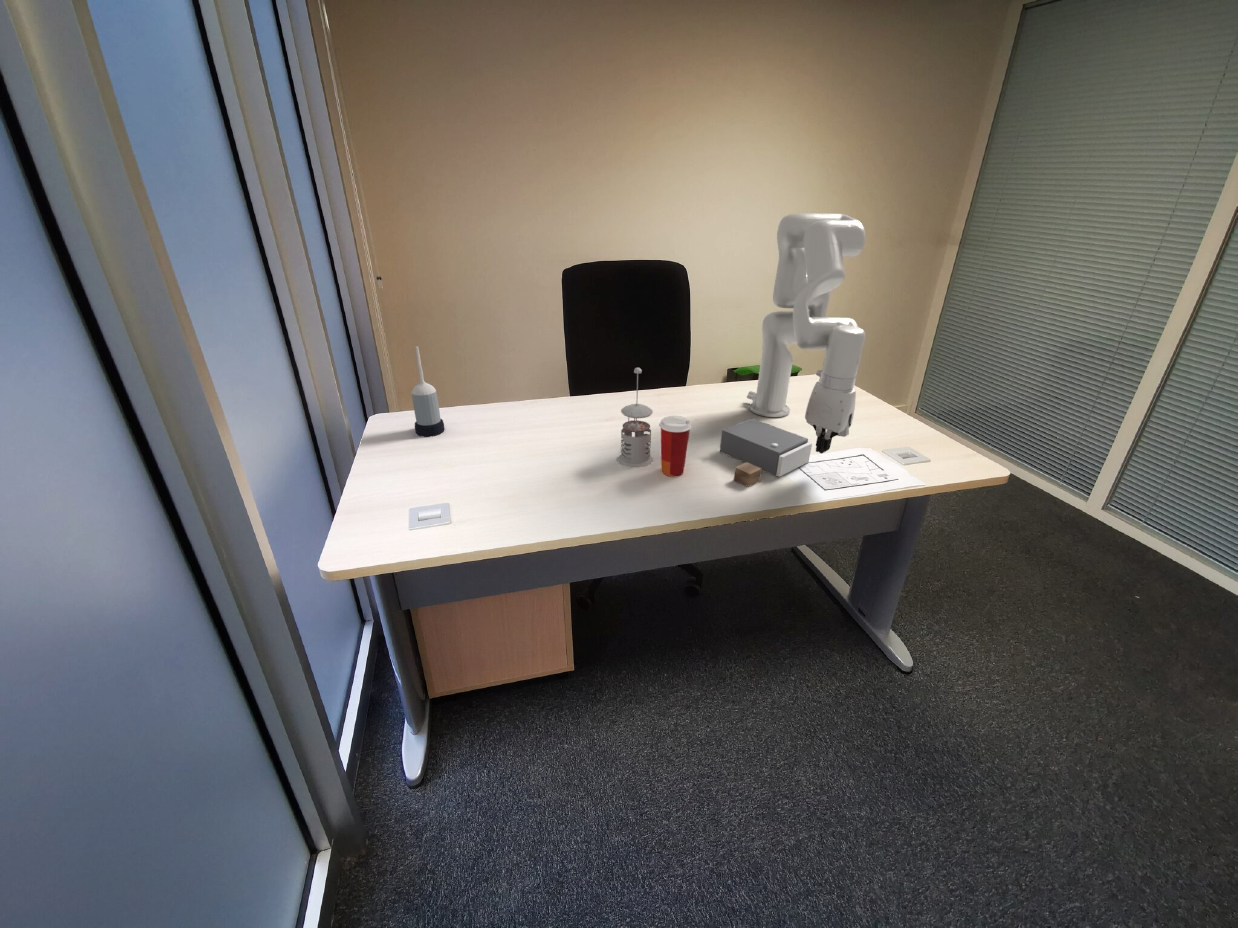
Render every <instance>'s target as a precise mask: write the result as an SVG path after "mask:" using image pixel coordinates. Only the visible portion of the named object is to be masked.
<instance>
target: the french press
mask: <svg viewBox="0 0 1238 928" xmlns="http://www.w3.org/2000/svg"><path fill="white" fill-rule="evenodd" d="M642 371H643V370H642V369H641V368H640V367H635V368H634V370H633V373H634V374H636V400H635V401H636V403H631V404H629V405H628V404H627V405H625V406H624V407H622V408H621V409H620V412H621V414H622V415H623V416H625V417H627V419H628V420H627V421H625V422H624V423H622V428H621V429H620V430H621V432H620V436H621V437H620V438H621V439H620V441H621V442H620V454H619V455H618V456H617V459H616V460H617V462H618V463H619V464H620V465H622V466H623V467H628V468H633V469H634V468H636V469H637V468H638V469H639V468H644V467H648V466H650V465H652V464H653V463H654V461H655V459H654V457H653V455H651V444H652V441H651V440H652V430H651V429H650V428H651V424H649V423H648V422H647V421H644V420H638V419H644V418H648V417H650V416H651V415H652V414H653V413H654V412H653V411H654V410H653V409H652V408H651V407H649V406H647V405H645V404H642V403H638V396H639V395H638V394H639V392H638V391H639V390H638V389H639V374H642ZM630 418H631V419H633V420H630ZM645 432H647V433H645ZM633 433H634V436H633ZM648 433H649V434H648Z"/></svg>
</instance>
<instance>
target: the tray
mask: <svg viewBox="0 0 1238 928" xmlns="http://www.w3.org/2000/svg"><path fill="white" fill-rule="evenodd" d="M812 447H813V442H809V441H808V443H806V444H804V445H801V446H799V447H797V448H795V449H793V450H791V451H789V452H787V453H785V454H782V455H780V456H779V461H778V467H777V473H776V476H778V477H782V476H784V475H786V474H788V473H790V472H792V471H793V470H795V469H798V468H799V467H802V466H803V465H805V464H808V463H809V462H810V457H811V451H812Z"/></svg>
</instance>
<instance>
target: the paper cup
mask: <svg viewBox="0 0 1238 928" xmlns="http://www.w3.org/2000/svg"><path fill="white" fill-rule="evenodd" d="M658 426H659V428H660V463H661V467H660V468H661V469H660V470H661V473H662V474H663V475H664V476H666V477H668V478H669V477H671V478H678V477H681V476H682V475H684V472H685V466H686V465H685V464H686V458H687V451H688V443H689V438H690V431H691V428H692V425H691V422H690V420H689V419H688V417H687V418H686V417H684V416H680V415H669V416H668V415H667V416H666V417H664V418H662V419H661V421H660V422H659V424H658Z"/></svg>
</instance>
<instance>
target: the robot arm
mask: <svg viewBox="0 0 1238 928" xmlns="http://www.w3.org/2000/svg"><path fill="white" fill-rule="evenodd" d="M776 240H777V241H776V242H777V249H778V263H777V268H776V276H775V279H774V286H773V292H772V293H773V294H772V301H773V304H774V305H775V307H778V308H783V309H792V310H780V311H772V312H770V313H768V314H766V316H764V318H763V321H762V325H761V326H762V328H761V331H762V346H761V347H762V348H761V357H760V364H759V371H758V372H759V374H758V380H757V388H756V392H755V391H752V390H750V391H748V394H747V395H746V398H747V399H749V400H751V401H752V402H751V403H750V404H749V410H750V411H751V412H752V413H754V414H756V415H759V416H761V417H766V418H767V417H768V418H782V417H786V416H788V415H789V414H790V412H791V409H790V407H789V406H788V405H787V398H788V392H789V387H790V380H791V374H792V367H793V361H794V360H793V355H792V352H791V351H790V349H789V348H788V347H787V345H794V344H795V345H797V346H798V347H799V348H800V349H801V350H804V351H805V350H807V351H825V353H824V359H823V362H822V367H821V368H822V369H821V370H820V369H818V370H817V371H816V372H815V373H816V374H815V375H816V377H817V376H818V378H819V380H818V381H816V383H815V384H814V386H813V388H812V390H811V393H810V397H809V398H808V402H807V406H806V410H805V415H804V418H805V421H806V423H807V424H809V425H810V426H812V427H813V430H814V431H815V435H816V436H817V438H816V442H815V452H817V453H819V454H825V453H826V452H827V451H829V450H830V448H831V444H832V440H833V438H834V437H836V436H837V437H844V438H845V437H848V436H849V435H850V428H851V426H852V424H853V419H854V414H855V409H856V399H857V398H856V397H857V396H856V394H857V393H856V388H854V387H855V383H856V379H857V374H858V371H859V366H860V362H861V358H862V353H863V349H864V346H865V342H866V332H865V330H864V329H862V328H861V327H859V326H858V323H857V322H856V321H855V320H854V319H853V318H851V317H843V316H841V317H835V316H826V315H827V312H828V306H829V303H830V297H831V291H833V290H835V289H837V288H838V287H840V285H842V284H843V283H844V281H845V279H846V270H845V264H844V263H845V262H844V258H854V257H857V256H859V255H860V254H861V253H862V252H863V249H864V248H865V244H866V230H865V227H864V225H863V224H862V222H861V221H859V220H858V219H857V218H853V217H852V216H849V215H847V214H843V213H822V212H821V213H820V212H818V213H817V212H816V213H815V212H797V213H791V214H790V213H789V214H787V215H784V217H782V218H781V220H780V221H779V224H778V227H777V232H776Z"/></svg>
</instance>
